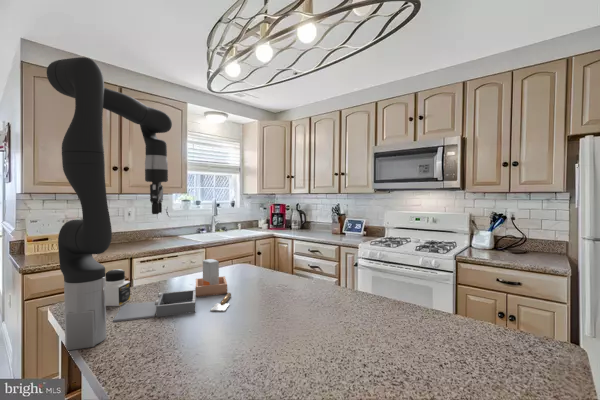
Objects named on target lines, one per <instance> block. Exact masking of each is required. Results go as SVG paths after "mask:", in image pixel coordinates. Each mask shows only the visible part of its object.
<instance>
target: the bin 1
mask: <svg viewBox="0 0 600 400" xmlns="http://www.w3.org/2000/svg"><path fill="white" fill-rule="evenodd" d="M157 298H159V299H156V300H155V301H147V302H146V301H145V302H136V303H127V304H125V303H124V304H122V305H121V307H120V308H119V311H118V312H117V314H115V316H114V318H113V319H112V323H116V322H124V321H133V320H140V319H141V320H142V319H149V318H155V317H156V318H159V317H167V316H177V315H185V314H193V313H196V301H197V299H196V298H197V297H196V289H190V290H181V291H180V290H178V291H170V292H169V291H167V292H162V291H161V292H159V293H158V294H157ZM185 301H187V302H185ZM176 302H177V303H176ZM165 303H166V304H165ZM168 303H169V304H168Z"/></svg>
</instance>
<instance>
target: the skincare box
mask: <svg viewBox="0 0 600 400" xmlns="http://www.w3.org/2000/svg"><path fill="white" fill-rule="evenodd" d="M219 263H220V261H219V260H216V259H213V258H208V259H203V260H202V278H203V286H205V285H216V284H219V277H220V267H219V266H220V264H219Z"/></svg>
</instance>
